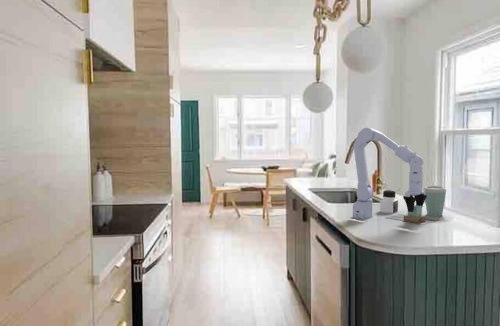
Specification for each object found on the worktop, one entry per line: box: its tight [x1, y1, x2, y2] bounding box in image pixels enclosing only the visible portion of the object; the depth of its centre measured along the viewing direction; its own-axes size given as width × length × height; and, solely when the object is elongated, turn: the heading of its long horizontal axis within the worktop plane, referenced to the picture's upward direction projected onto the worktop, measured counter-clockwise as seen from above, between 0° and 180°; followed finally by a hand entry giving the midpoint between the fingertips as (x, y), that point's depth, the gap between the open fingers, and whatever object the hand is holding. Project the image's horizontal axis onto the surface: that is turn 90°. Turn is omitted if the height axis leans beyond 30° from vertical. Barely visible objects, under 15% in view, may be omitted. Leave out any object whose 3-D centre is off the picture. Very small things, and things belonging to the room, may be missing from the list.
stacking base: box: [385, 213, 438, 226], centre depth 196 cm, size 14×20×4 cm
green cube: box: [407, 204, 423, 217], centre depth 192 cm, size 4×4×4 cm
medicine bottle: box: [379, 189, 399, 214], centre depth 216 cm, size 7×7×12 cm
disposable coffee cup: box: [422, 185, 447, 217], centre depth 208 cm, size 11×11×15 cm
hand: (414, 210), depth 192 cm, fingers open, 7 cm apart
